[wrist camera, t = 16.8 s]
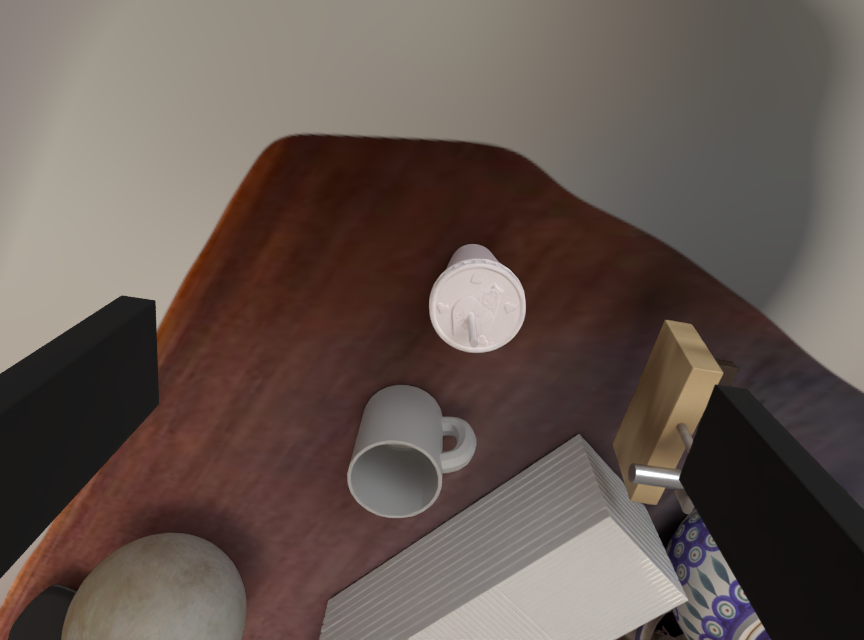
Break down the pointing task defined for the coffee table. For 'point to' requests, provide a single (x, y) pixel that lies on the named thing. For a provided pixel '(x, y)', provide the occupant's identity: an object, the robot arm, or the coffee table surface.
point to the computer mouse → (44, 615)
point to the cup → (405, 452)
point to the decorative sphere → (160, 593)
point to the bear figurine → (653, 635)
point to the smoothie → (477, 301)
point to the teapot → (706, 590)
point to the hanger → (666, 408)
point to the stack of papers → (522, 565)
